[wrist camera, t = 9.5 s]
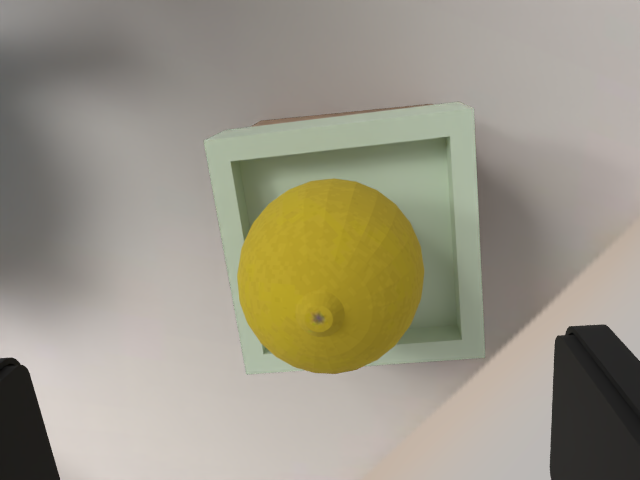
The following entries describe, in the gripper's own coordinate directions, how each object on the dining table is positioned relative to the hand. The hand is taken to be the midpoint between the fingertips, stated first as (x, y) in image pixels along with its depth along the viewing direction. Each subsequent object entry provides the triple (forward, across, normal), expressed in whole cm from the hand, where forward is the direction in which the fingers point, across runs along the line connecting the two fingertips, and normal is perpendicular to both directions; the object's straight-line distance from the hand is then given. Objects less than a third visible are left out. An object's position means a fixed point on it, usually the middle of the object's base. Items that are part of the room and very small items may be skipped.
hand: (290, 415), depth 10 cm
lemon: (+12, 0, +1) cm, 12 cm away
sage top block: (+14, -1, +1) cm, 14 cm away
